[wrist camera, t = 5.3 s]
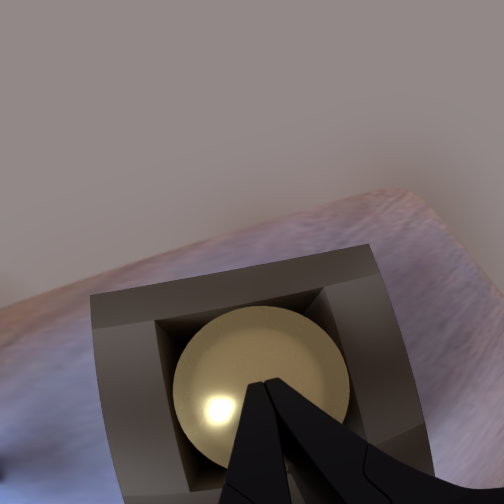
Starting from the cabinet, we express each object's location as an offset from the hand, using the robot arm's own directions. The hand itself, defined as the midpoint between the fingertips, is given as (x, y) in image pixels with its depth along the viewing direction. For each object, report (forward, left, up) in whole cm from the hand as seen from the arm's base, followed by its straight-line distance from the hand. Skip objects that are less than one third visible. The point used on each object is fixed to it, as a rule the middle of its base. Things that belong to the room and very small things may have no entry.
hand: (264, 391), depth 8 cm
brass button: (0, 0, -6) cm, 6 cm away
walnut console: (-1, +1, -9) cm, 9 cm away
